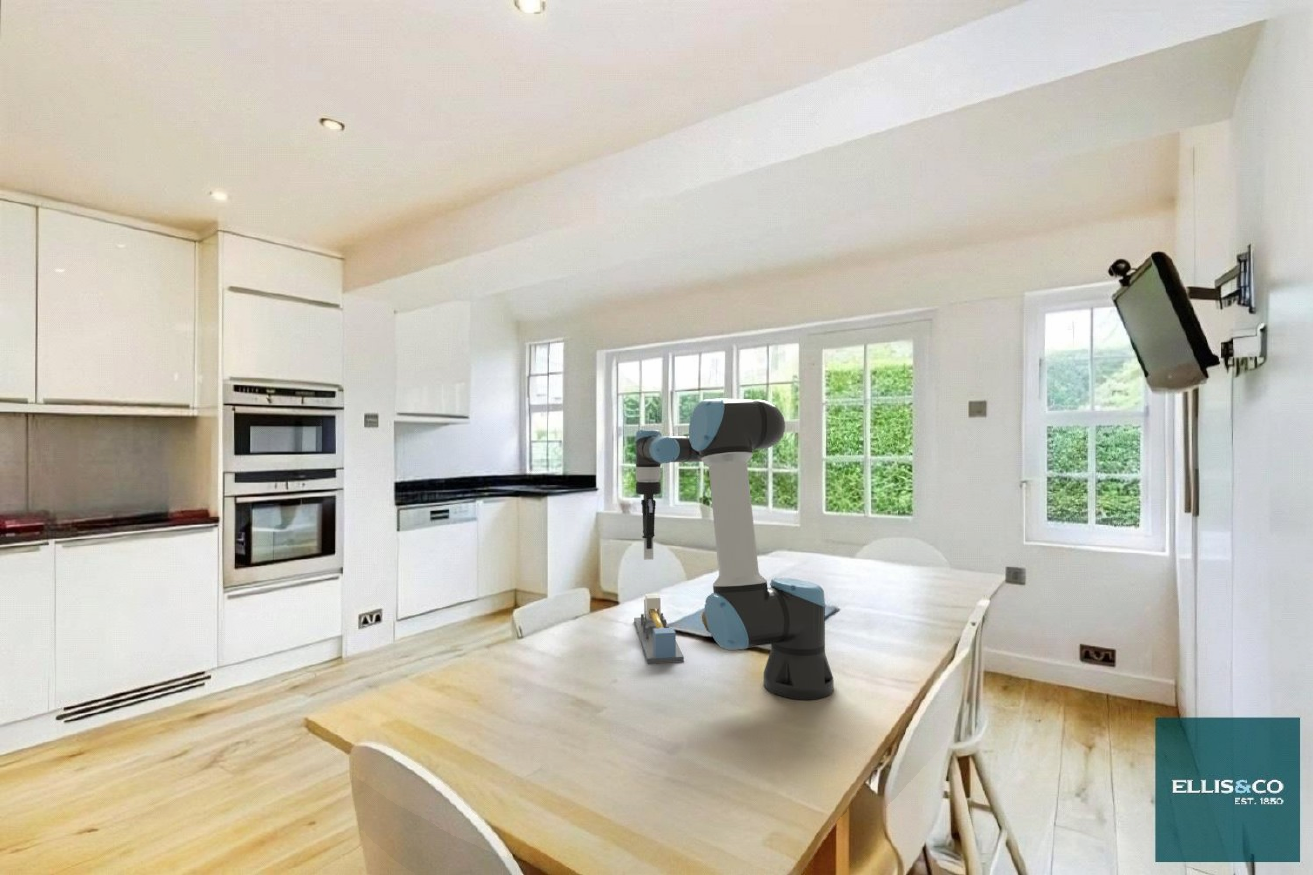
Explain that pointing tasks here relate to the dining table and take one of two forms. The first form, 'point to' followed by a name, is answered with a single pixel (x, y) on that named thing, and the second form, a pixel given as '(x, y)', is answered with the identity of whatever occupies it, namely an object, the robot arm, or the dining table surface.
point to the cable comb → (657, 639)
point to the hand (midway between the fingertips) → (648, 558)
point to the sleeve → (652, 605)
